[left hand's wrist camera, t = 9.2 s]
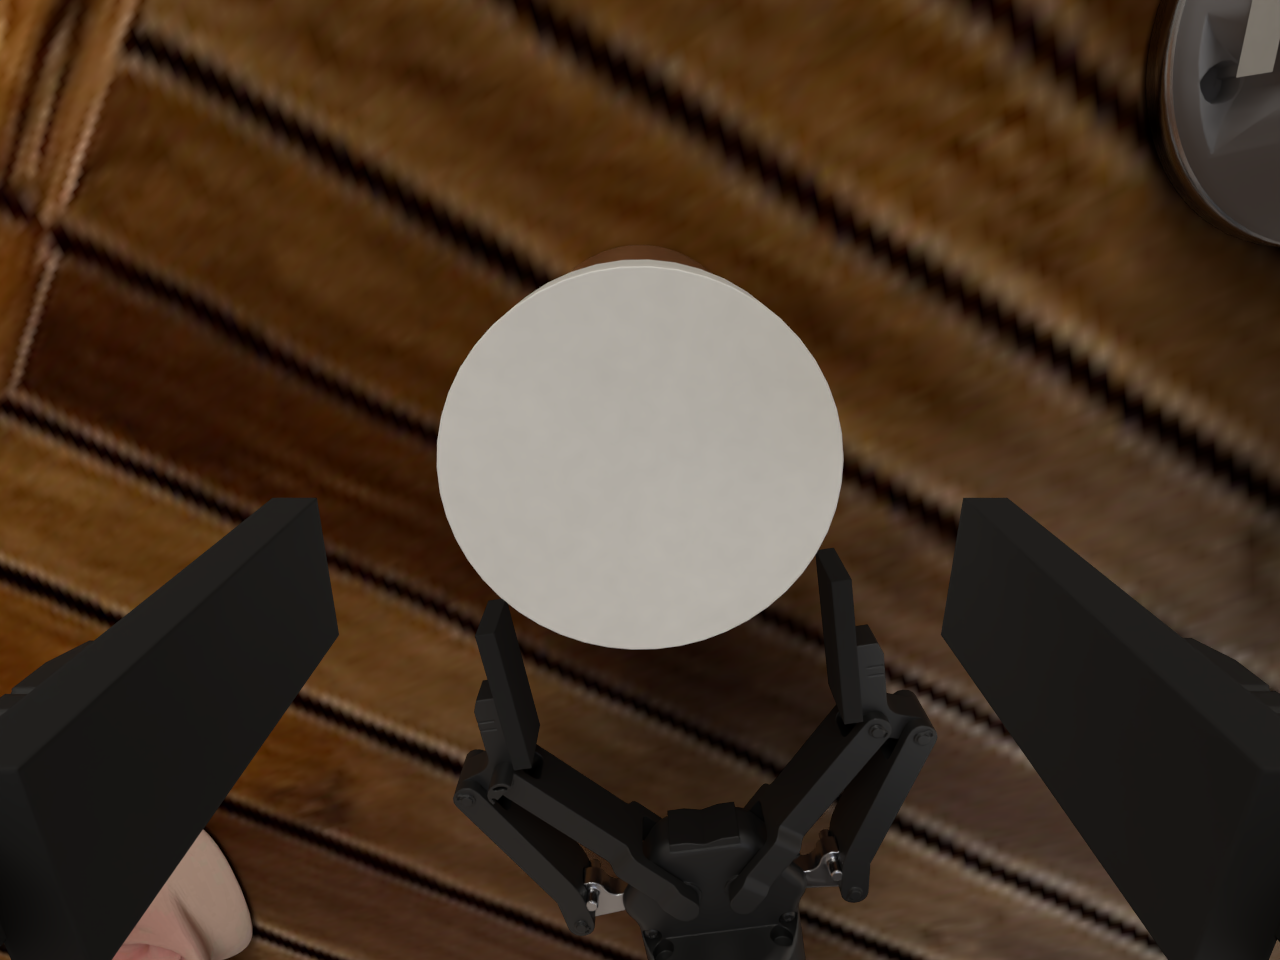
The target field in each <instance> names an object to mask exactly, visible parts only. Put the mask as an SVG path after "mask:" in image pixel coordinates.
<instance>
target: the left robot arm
mask: <svg viewBox="0 0 1280 960" xmlns="http://www.w3.org/2000/svg"><path fill="white" fill-rule="evenodd" d="M1146 103H1147V111H1148V120H1149V126H1150V130H1151V135H1152V139H1153V143H1154V146H1155V149H1156V152H1157V155H1158V158H1159V160H1160V162H1161V165H1162V167H1163V169H1164V171H1165V173H1166V175H1167V177H1168V178H1169V180H1170V182H1171V183H1172V185H1173V187H1174V188H1175V190H1176V191H1177V192H1178V194H1179V195H1180V196H1181V197H1182V199H1183V200H1184V201H1185V202H1186V203H1187V204H1188V205H1189V206H1190V207H1191V208H1192V209H1193V210H1194V211H1195V212H1196V213H1197V214H1198V215H1199V216H1200V217H1202V218H1203V219H1204V220H1206V221H1207V222H1208V223H1210V224H1211V225H1213V226H1214V227H1216V228H1218V229H1220V230H1222V231H1223V232H1225V233H1227V234H1229V235H1232V236H1234V237H1237V238H1239V239H1242V240H1245V241H1248V242H1252V243H1256V244H1260V245H1266V246H1272V247H1280V0H1161V2H1160V5H1159V8H1158V11H1157V15H1156V19H1155V23H1154V27H1153V31H1152V35H1151V41H1150V47H1149V53H1148V60H1147V74H1146ZM338 635H339V632H338V626H337V620H336V614H335V608H334V601H333V595H332V589H331V583H330V577H329V571H328V565H327V558H326V552H325V546H324V540H323V534H322V528H321V522H320V515H319V509H318V503H317V498H272V499H271V500H270V501H268V502H267V503H266V504H265V505H263V506H262V507H261V508H260V509H258V510H257V511H256V512H255V513H253V514H252V515H251V516H250V517H248V518H247V519H246V520H245V521H243V522H242V523H241V524H240V525H238V526H237V527H236V528H235V529H233V530H232V531H231V532H230V533H228V534H227V535H226V536H225V537H223V538H222V539H221V540H220V541H218V542H217V543H216V544H215V545H213V546H212V547H211V548H210V549H208V550H207V551H206V552H205V553H203V554H202V555H201V556H200V557H198V558H197V559H196V560H195V561H193V562H192V563H191V564H190V565H188V566H187V567H186V568H185V569H183V570H182V571H181V572H180V573H178V574H177V575H176V576H175V577H173V578H172V579H171V580H170V581H168V582H167V583H166V584H165V585H163V586H162V587H161V588H160V589H158V590H157V591H156V592H155V593H153V594H152V595H151V596H150V597H148V598H147V599H146V600H145V601H143V602H142V603H141V604H140V605H138V606H137V607H136V608H135V609H133V610H132V611H131V612H130V613H128V614H127V615H126V616H125V617H123V618H122V619H121V620H120V621H118V622H117V623H116V624H115V625H113V626H112V627H111V628H110V629H108V630H107V631H106V632H105V633H103V634H102V635H101V636H100V637H98V638H97V639H96V640H95V641H88V642H86V643H84V644H82V645H80V646H78V647H76V648H74V649H72V650H70V651H68V652H66V653H64V654H62V655H60V656H58V657H56V658H54V659H52V660H50V661H48V662H46V663H45V664H43V665H42V666H41V667H39V668H38V669H37V670H36V671H34V672H33V673H32V674H30V675H29V676H28V677H26V678H25V679H24V680H23V681H21V682H20V683H19V684H17V685H16V686H15V687H14V688H12V692H11V694H4V695H3V696H2V697H1V698H0V946H1V945H2V944H3V943H5V946H6V948H7V951H8V953H9V955H10V958H11V960H112V959H113V957H114V956H115V955H116V953H117V952H118V950H119V949H120V947H121V946H122V945H123V943H124V942H125V940H126V939H127V937H128V936H129V935H130V933H131V932H132V930H133V929H134V927H135V926H136V925H137V923H138V922H139V920H140V919H141V917H142V916H143V914H144V913H145V912H146V910H147V909H148V907H149V906H150V904H151V903H152V902H153V900H154V899H155V897H156V896H157V894H158V893H159V892H160V890H161V889H162V887H163V886H164V884H165V883H166V882H167V880H168V879H169V877H170V876H171V874H172V873H173V872H174V870H175V869H176V867H177V866H178V864H179V863H180V862H181V860H182V859H183V857H184V856H185V854H186V853H187V852H188V850H189V849H190V847H191V846H192V844H193V843H194V842H195V840H196V839H197V837H198V836H199V834H200V833H201V832H202V830H203V829H204V827H205V826H206V824H207V823H208V821H209V820H210V819H211V817H212V816H213V814H214V813H215V811H216V810H217V809H218V807H219V806H220V804H221V803H222V801H223V800H224V799H225V797H226V796H227V794H228V793H229V791H230V790H231V789H232V787H233V786H234V784H235V783H236V781H237V780H238V779H239V777H240V776H241V774H242V773H243V771H244V770H245V769H246V767H247V766H248V764H249V763H250V761H251V760H252V759H253V757H254V756H255V754H256V753H257V751H258V750H259V749H260V747H261V746H262V744H263V743H264V741H265V740H266V739H267V737H268V736H269V734H270V733H271V731H272V730H273V728H274V727H275V726H276V724H277V723H278V721H279V720H280V718H281V717H282V716H283V714H284V713H285V711H286V710H287V708H288V707H289V706H290V704H291V703H292V701H293V700H294V698H295V697H296V696H297V694H298V693H299V691H300V690H301V688H302V687H303V686H304V684H305V683H306V681H307V680H308V678H309V677H310V676H311V674H312V673H313V671H314V670H315V668H316V667H317V666H318V664H319V663H320V661H321V660H322V658H323V657H324V656H325V654H326V653H327V651H328V650H329V648H330V647H331V646H332V644H333V643H334V641H335V640H336V638H337V637H338ZM941 635H942V637H943V638H944V640H945V641H946V643H947V644H948V646H949V647H950V648H951V650H952V651H953V653H954V654H955V656H956V657H957V658H958V660H959V661H960V663H961V664H962V666H963V667H964V668H965V670H966V671H967V673H968V674H969V676H970V677H971V678H972V680H973V681H974V683H975V684H976V686H977V687H978V688H979V690H980V691H981V693H982V694H983V696H984V697H985V698H986V700H987V701H988V703H989V704H990V706H991V707H992V708H993V710H994V711H995V713H996V714H997V716H998V717H999V718H1000V720H1001V721H1002V723H1003V724H1004V726H1005V727H1006V728H1007V730H1008V731H1009V733H1010V734H1011V736H1012V737H1013V739H1014V740H1015V741H1016V743H1017V744H1018V746H1019V747H1020V749H1021V750H1022V751H1023V753H1024V754H1025V756H1026V757H1027V759H1028V760H1029V761H1030V763H1031V764H1032V766H1033V767H1034V769H1035V770H1036V771H1037V773H1038V774H1039V776H1040V777H1041V779H1042V780H1043V781H1044V783H1045V784H1046V786H1047V787H1048V789H1049V790H1050V791H1051V793H1052V794H1053V796H1054V797H1055V799H1056V800H1057V801H1058V803H1059V804H1060V806H1061V807H1062V809H1063V810H1064V811H1065V813H1066V814H1067V816H1068V817H1069V819H1070V820H1071V821H1072V823H1073V824H1074V826H1075V827H1076V829H1077V830H1078V832H1079V833H1080V834H1081V836H1082V837H1083V839H1084V840H1085V842H1086V843H1087V844H1088V846H1089V847H1090V849H1091V850H1092V852H1093V853H1094V854H1095V856H1096V857H1097V859H1098V860H1099V862H1100V863H1101V864H1102V866H1103V867H1104V869H1105V870H1106V872H1107V873H1108V874H1109V876H1110V877H1111V879H1112V880H1113V882H1114V883H1115V884H1116V886H1117V887H1118V889H1119V890H1120V892H1121V893H1122V894H1123V896H1124V897H1125V899H1126V900H1127V902H1128V903H1129V904H1130V906H1131V907H1132V909H1133V910H1134V912H1135V913H1136V914H1137V916H1138V917H1139V919H1140V920H1141V922H1142V923H1143V925H1144V926H1145V927H1146V929H1147V930H1148V932H1149V933H1150V935H1151V936H1152V937H1153V939H1154V940H1155V942H1156V943H1157V945H1158V946H1159V947H1160V949H1161V950H1162V952H1163V953H1164V955H1165V956H1166V957H1167V959H1168V960H1269V958H1270V955H1271V953H1272V951H1273V948H1274V946H1275V943H1276V941H1277V939H1278V941H1279V942H1280V694H1279V693H1278V692H1276V691H1270V689H1269V685H1267V684H1266V683H1265V682H1263V681H1262V680H1261V679H1259V678H1258V677H1257V676H1256V675H1254V674H1253V673H1252V672H1250V671H1249V670H1248V669H1246V668H1245V667H1244V666H1242V665H1241V664H1240V663H1239V662H1237V661H1236V660H1234V659H1232V658H1230V657H1228V656H1226V655H1224V654H1222V653H1220V652H1218V651H1216V650H1214V649H1212V648H1210V647H1208V646H1206V645H1204V644H1202V643H1200V642H1198V641H1196V640H1194V639H1192V638H1182V637H1180V636H1179V635H1178V634H1177V633H1175V632H1174V631H1173V630H1172V629H1170V628H1169V627H1168V626H1167V625H1165V624H1164V623H1163V622H1162V621H1160V620H1159V619H1158V618H1157V617H1155V616H1154V615H1153V614H1152V613H1150V612H1149V611H1148V610H1147V609H1145V608H1144V607H1143V606H1142V605H1140V604H1139V603H1138V602H1137V601H1135V600H1134V599H1133V598H1132V597H1130V596H1129V595H1128V594H1127V593H1125V592H1124V591H1123V590H1122V589H1120V588H1119V587H1118V586H1117V585H1115V584H1114V583H1113V582H1112V581H1110V580H1109V579H1108V578H1107V577H1105V576H1104V575H1103V574H1102V573H1100V572H1099V571H1098V570H1097V569H1095V568H1094V567H1093V566H1092V565H1090V564H1089V563H1088V562H1087V561H1085V560H1084V559H1083V558H1082V557H1080V556H1079V555H1078V554H1077V553H1075V552H1074V551H1073V550H1072V549H1070V548H1069V547H1068V546H1067V545H1065V544H1064V543H1063V542H1062V541H1060V540H1059V539H1058V538H1057V537H1055V536H1054V535H1053V534H1052V533H1050V532H1049V531H1048V530H1047V529H1045V528H1044V527H1043V526H1042V525H1040V524H1039V523H1038V522H1037V521H1035V520H1034V519H1033V518H1032V517H1030V516H1029V515H1028V514H1027V513H1025V512H1024V511H1023V510H1022V509H1020V508H1019V507H1018V506H1017V505H1015V504H1014V503H1013V502H1012V501H1010V500H1009V499H1008V498H963V503H962V509H961V515H960V522H959V528H958V534H957V540H956V546H955V552H954V558H953V565H952V571H951V577H950V583H949V589H948V595H947V601H946V608H945V614H944V620H943V626H942V632H941Z"/></svg>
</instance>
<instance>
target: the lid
mask: <svg viewBox="0 0 1280 960" xmlns="http://www.w3.org/2000/svg"><path fill="white" fill-rule="evenodd" d="M842 471H843V444H842V432H841V427H840V422H839V417H838V412H837V408H836V405H835V402H834V399H833V397H832V394H831V391H830V388H829V385H828V383H827V381H826V379H825V377H824V375H823V374H822V372H821V370H820V368H819V366H818V364H817V362H816V360H815V359H814V358H813V356H812V355H811V353H810V352H809V351H808V349H807V348H806V346H805V345H804V344H803V342H802V341H801V340H800V338H799V337H798V336H797V335H796V334H795V333H794V332H793V331H792V330H791V329H790V328H789V327H788V326H787V325H786V324H785V323H784V322H783V321H782V320H781V319H780V318H779V317H778V316H777V315H776V314H774V313H773V312H772V311H771V310H769V309H768V308H767V307H766V306H764V305H763V304H762V303H761V302H759V301H758V300H757V299H755V298H754V297H753V296H752V295H750V294H749V293H748V292H746V291H745V290H743V289H741V288H740V287H738V286H736V285H734V284H733V283H731V282H729V281H727V280H726V279H724V278H721V277H719V276H716V275H714V274H712V273H709V272H707V271H704V270H702V269H699V268H695V267H691V266H687V265H683V264H679V263H675V262H667V261H658V260H649V259H647V260H620V261H614V262H607V263H601V264H596V265H592V266H589V267H586V268H582V269H579V270H576V271H573V272H570V273H568V274H566V275H564V276H561V277H559V278H557V279H555V280H553V281H551V282H548V283H547V284H545V285H544V286H542V287H541V288H539V289H537V290H536V291H534V292H533V293H531V294H530V295H528V296H526V297H525V298H524V299H523V300H522V301H520V302H519V303H518V304H517V305H515V306H514V307H513V308H512V309H511V310H510V311H508V312H507V313H506V314H505V315H504V316H503V317H501V318H500V319H499V320H498V321H497V322H496V323H494V324H493V325H492V326H491V327H490V329H489V330H488V331H487V332H486V333H485V334H484V335H483V337H482V338H481V339H480V340H479V341H478V342H477V343H476V345H475V346H474V347H473V349H472V350H471V352H470V353H469V355H468V356H467V358H466V360H465V361H464V363H463V364H462V366H461V367H460V369H459V371H458V373H457V375H456V377H455V380H454V382H453V384H452V386H451V388H450V390H449V393H448V396H447V399H446V403H445V406H444V409H443V412H442V416H441V421H440V427H439V434H438V440H437V473H438V481H439V489H440V494H441V498H442V502H443V506H444V509H445V513H446V517H447V519H448V521H449V524H450V526H451V529H452V531H453V534H454V536H455V538H456V540H457V542H458V544H459V545H460V547H461V549H462V551H463V552H464V554H465V556H466V557H467V559H468V561H469V562H470V563H471V565H472V566H473V567H474V569H475V570H476V571H477V573H478V574H479V575H480V576H481V578H482V579H483V580H484V581H485V582H486V583H487V584H488V585H489V586H490V587H491V588H492V589H493V590H494V591H495V592H496V593H497V594H498V595H499V596H500V597H501V598H502V599H503V600H504V601H506V602H507V603H508V604H510V605H511V606H512V607H513V608H515V609H516V610H517V611H518V612H520V613H521V614H523V615H525V616H526V617H528V618H530V619H531V620H533V621H534V622H536V623H538V624H539V625H541V626H544V627H546V628H548V629H550V630H552V631H554V632H556V633H559V634H561V635H564V636H567V637H570V638H573V639H576V640H579V641H582V642H585V643H590V644H595V645H599V646H604V647H610V648H621V649H631V650H634V649H661V648H668V647H676V646H682V645H686V644H690V643H694V642H698V641H702V640H705V639H708V638H710V637H713V636H716V635H718V634H721V633H724V632H726V631H728V630H730V629H732V628H734V627H736V626H738V625H740V624H742V623H744V622H746V621H748V620H749V619H751V618H752V617H754V616H755V615H757V614H758V613H760V612H761V611H763V610H764V609H766V608H767V607H768V606H770V605H771V604H772V603H773V602H774V601H775V600H777V599H778V598H779V597H780V596H781V595H782V594H783V593H785V592H786V591H787V590H788V589H789V587H790V586H791V585H792V584H793V583H794V582H795V581H796V580H797V579H798V578H799V576H800V575H801V574H802V573H803V572H804V570H805V569H806V567H807V566H808V564H809V563H810V562H811V560H812V559H813V557H814V556H815V554H816V553H817V551H818V549H819V547H820V545H821V543H822V541H823V540H824V538H825V536H826V534H827V532H828V529H829V527H830V524H831V521H832V518H833V516H834V513H835V510H836V507H837V502H838V498H839V493H840V489H841V484H842Z"/></svg>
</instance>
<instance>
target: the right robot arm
mask: <svg viewBox="0 0 1280 960" xmlns="http://www.w3.org/2000/svg"><path fill="white" fill-rule="evenodd" d="M816 564H817V574H818V584H819V594H820V604H821V614H822V624H823V634H824V644H825V654H826V664H827V674H828V684H829V686H830V689H831V691H832V694H833V697H834V699H835V702H836V706H835V707H834V708H833V709H832V711H831V712H830V713H829V714H828V715H827V717H826V718H825V719H824V720H823V722H822V723H821V724H820V725H819V726H818V728H817V729H816V730H815V731H814V733H813V734H812V735H811V736H810V737H809V739H808V740H807V741H806V742H805V744H804V745H803V746H802V747H801V748H800V750H799V751H798V752H797V753H796V755H795V756H794V757H793V758H792V759H791V761H790V762H789V763H788V764H787V766H786V767H785V768H784V769H783V770H782V772H781V773H780V774H779V775H778V777H777V778H776V779H775V780H774V782H773V783H772V784H771V785H768V784H763V785H762V786H761V787H760V789H759V790H758V791H757V792H756V794H755V795H754V796H753V797H752V799H751V800H750V801H749V802H748V803H747V805H746V806H745V807H744V808H739V807H735V805H734V802H729V803H722V804H716V805H713V806H711V807H708V808H705V809H702V810H697V809H677V810H669V811H668V816H667V817H665V818H663V819H662V818H660V817H659V816H657V815H656V814H654V813H653V812H651V811H650V810H648V809H647V808H645V807H644V806H642V805H641V804H639V803H637V802H635V801H632V802H631V803H630V804H627V803H625V802H624V801H622V800H621V799H619V798H618V797H616V796H615V795H613V794H612V793H610V792H609V791H607V790H605V789H604V788H602V787H601V786H599V785H598V784H596V783H595V782H593V781H592V780H590V779H589V778H587V777H586V776H584V775H583V774H581V773H580V772H578V771H576V770H575V769H573V768H572V767H570V766H569V765H567V764H566V763H564V762H563V761H561V760H560V759H558V758H557V757H555V756H554V755H552V754H551V753H549V752H548V751H546V750H544V749H543V748H541V747H540V746H538V745H537V744H536V743H537V737H538V732H539V727H540V723H539V720H538V716H537V712H536V708H535V705H534V701H533V697H532V693H531V690H530V686H529V682H528V678H527V675H526V671H525V667H524V663H523V660H522V656H521V652H520V648H519V645H518V641H517V637H516V633H515V630H514V626H513V622H512V618H511V614H510V611H509V607H508V603H507V602H506V601H504V600H503V599H497V600H491V601H488V604H487V606H486V609H485V611H484V614H483V617H482V619H481V622H480V625H479V627H478V630H477V632H476V635H475V638H476V641H477V645H478V648H479V652H480V655H481V658H482V662H483V665H484V669H485V672H486V676H487V679H488V680H483V682H482V685H481V688H480V691H479V694H478V697H477V700H476V704H475V711H474V713H475V716H476V719H477V723H478V726H479V729H480V731H481V732H480V733H481V736H482V739H483V743H484V746H485V749H486V751H483V750H473V751H470V752H469V753H468V754H467V756H466V759H465V762H464V765H463V768H462V772H461V775H460V778H459V781H458V784H457V788H456V791H455V794H454V797H453V800H454V803H455V805H456V806H457V807H458V808H459V809H460V810H461V811H462V812H463V813H464V814H465V815H466V816H467V817H468V818H469V819H470V820H471V821H472V822H473V823H474V824H475V825H476V826H478V827H479V828H480V829H481V830H482V831H483V832H484V833H485V834H486V835H487V836H488V837H489V838H490V839H491V840H492V841H493V842H494V843H495V844H496V845H497V846H498V847H499V848H500V849H502V850H503V851H504V852H505V853H506V854H507V855H508V856H509V857H510V858H511V859H512V860H513V861H514V862H515V863H516V864H517V865H518V866H519V867H520V868H521V869H522V870H523V871H525V872H526V873H527V874H528V875H529V876H530V877H531V878H532V879H533V880H534V881H535V882H536V883H537V884H538V885H539V886H540V887H541V888H542V889H543V890H544V891H545V892H546V893H547V894H549V895H550V896H551V897H552V898H553V899H554V900H555V901H556V902H557V903H558V905H559V908H560V910H561V912H562V914H563V917H564V919H565V921H566V923H567V926H568V928H569V930H570V931H571V932H572V933H574V934H575V935H579V936H584V935H588V934H590V933H591V932H592V931H593V930H594V928H595V916H599V915H604V914H608V913H613V912H618V911H622V910H626V911H627V913H628V914H629V915H630V916H631V917H632V918H633V919H635V920H636V921H637V923H638V924H639V926H640V928H641V932H642V937H643V941H644V945H645V949H646V954H647V958H648V960H806V959H805V952H804V944H803V936H802V929H801V921H800V914H799V901H800V899H801V897H802V895H803V894H804V892H805V889H806V888H809V887H833V886H839V888H840V892H841V895H842V897H843V899H844V900H846V901H848V902H853V903H855V902H860V901H862V900H864V899H865V898H866V897H867V894H868V889H869V874H870V863H871V861H872V859H873V858H874V856H875V854H876V852H877V850H878V848H879V846H880V845H881V843H882V841H883V839H884V837H885V835H886V833H887V832H888V830H889V828H890V826H891V824H892V822H893V820H894V819H895V817H896V815H897V813H898V811H899V809H900V807H901V806H902V804H903V802H904V800H905V798H906V796H907V794H908V793H909V791H910V789H911V787H912V785H913V783H914V781H915V780H916V778H917V776H918V774H919V772H920V770H921V768H922V767H923V765H924V763H925V761H926V759H927V757H928V755H929V754H930V752H931V750H932V748H933V746H934V744H935V742H936V740H937V733H936V731H935V729H934V727H933V726H932V724H931V722H930V720H929V718H928V717H927V715H926V713H925V711H924V709H923V708H922V706H921V704H920V702H919V701H918V699H917V697H916V695H915V694H914V693H913V692H911V691H909V690H900V691H897V692H895V693H894V694H889V693H886V681H885V667H884V653H883V651H882V650H881V648H880V646H879V644H878V642H877V640H876V638H875V637H874V635H873V633H872V631H871V630H870V628H869V626H868V625H861V626H855V617H854V605H853V593H852V581H851V578H850V576H849V574H848V572H847V571H846V569H845V567H844V565H843V564H842V562H841V560H840V558H839V556H838V555H837V553H836V551H835V549H834V548H829V549H823V550H818V551H817V553H816ZM843 790H844V791H843ZM842 791H843V793H842V795H841V797H840V799H839V801H838V803H837V805H836V807H835V810H834V812H833V814H832V818H831V821H830V828H829V830H826V829H825V830H822V831H820V833H819V838H820V840H819V841H818V842H817V844H816V846H815V849H814V850H813V851H812V852H811V853H809V854H806V855H800V853H799V852H800V849H801V844H802V839H803V837H804V835H805V834H806V833H807V832H808V830H809V829H810V828H811V827H812V826H813V825H814V824H815V822H816V821H817V820H818V819H819V818H820V817H821V815H822V814H823V813H824V812H825V811H826V810H827V808H828V807H829V806H830V805H831V804H832V803H833V802H834V800H835V799H836V798H837V797H838V796H839V795H840V793H841V792H842ZM643 840H644V841H643ZM576 841H577V842H578V843H580V844H582V845H583V846H585V847H586V848H588V849H589V850H591V851H593V852H594V853H596V854H597V855H599V856H601V857H602V858H604V859H605V860H607V861H608V862H609V863H610V864H611V866H612V868H613V871H614V873H615V874H616V875H617V876H618V877H619V878H613V877H610V876H609V875H607V874H606V872H605V871H604V870H603V869H601V863H600V861H599V860H597V859H592V860H590V861H589V859H588V857H587V855H586V853H585V852H584V850H583V849H582V847H581V846H580V845H579V844H578V843H577V842H576Z"/></svg>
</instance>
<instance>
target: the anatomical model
mask: <svg viewBox="0 0 1280 960" xmlns="http://www.w3.org/2000/svg"><path fill="white" fill-rule="evenodd" d="M251 938H252V922H251V917H250V913H249V910H248V906H247V904H246V901H245V898H244V896H243V893H242V890H241V888H240V886H239V884H238V881H237V879H236V877H235V875H234V873H233V871H232V869H231V867H230V865H229V863H228V861H227V860H226V858H225V856H224V855H223V853H222V852H221V850H220V848H219V847H218V845H217V844H216V843H215V842H214V840H213V839H212V838H211V837H210V835H209V834H208V833H207V832H206V831H205V830H204V829H203V830H202V832H201V833H200V834H199V836H198V837H197V839H196V840H195V842H194V843H193V844H192V846H191V847H190V849H189V850H188V852H187V853H186V854H185V856H184V857H183V859H182V860H181V862H180V863H179V864H178V866H177V867H176V869H175V870H174V872H173V873H172V874H171V876H170V877H169V879H168V880H167V882H166V883H165V884H164V886H163V887H162V889H161V890H160V892H159V893H158V894H157V896H156V897H155V899H154V900H153V902H152V903H151V904H150V906H149V907H148V909H147V910H146V912H145V913H144V914H143V916H142V917H141V919H140V920H139V922H138V923H137V925H136V926H135V927H134V929H133V930H132V932H131V933H130V935H129V936H128V937H127V939H126V940H125V942H124V943H123V945H122V946H121V947H120V949H119V950H118V952H117V953H116V955H115V956H114V957H113V959H112V960H224V959H227V958H230V957H232V956H234V955H236V954H238V953H240V952H241V951H242V950H244V949H245V948H246V947H247V946H248V944H249V943H250V941H251Z"/></svg>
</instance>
